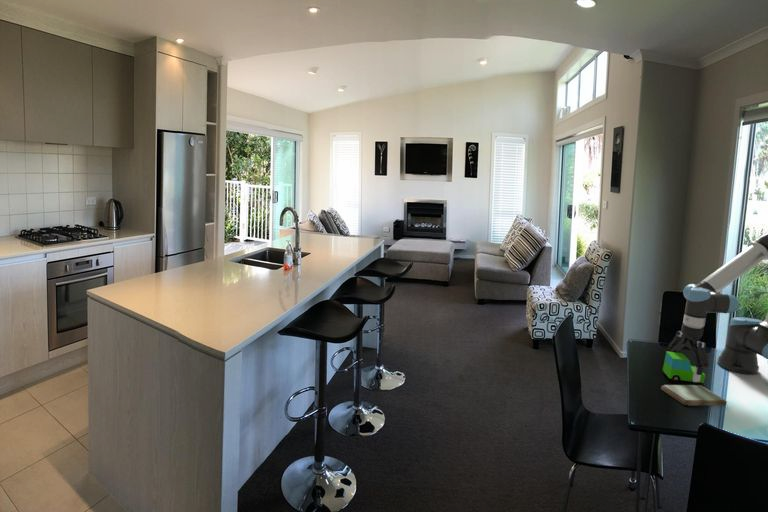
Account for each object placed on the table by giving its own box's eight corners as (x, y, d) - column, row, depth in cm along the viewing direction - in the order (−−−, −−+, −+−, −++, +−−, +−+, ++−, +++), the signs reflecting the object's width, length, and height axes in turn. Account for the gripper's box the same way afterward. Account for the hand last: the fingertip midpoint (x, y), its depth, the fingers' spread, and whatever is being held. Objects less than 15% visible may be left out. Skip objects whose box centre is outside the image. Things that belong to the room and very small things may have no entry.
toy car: (705, 387, 198) (710, 364, 196) (669, 382, 200) (674, 359, 198) (695, 376, 207) (699, 354, 206) (661, 372, 210) (665, 350, 208)
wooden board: (700, 389, 195) (701, 384, 195) (725, 405, 182) (727, 400, 182) (660, 389, 193) (661, 384, 193) (684, 405, 180) (685, 400, 180)
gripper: (664, 315, 211) (655, 361, 215) (708, 336, 187) (697, 387, 191) (680, 316, 212) (671, 361, 216) (725, 336, 188) (715, 387, 192)
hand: (683, 374), depth 203 cm, fingers open, 13 cm apart
